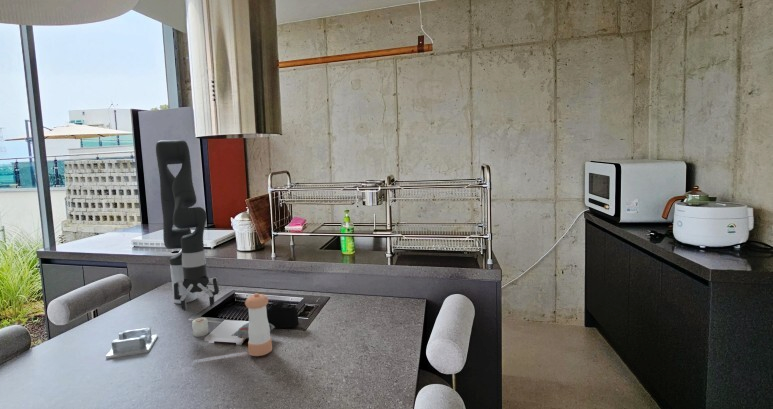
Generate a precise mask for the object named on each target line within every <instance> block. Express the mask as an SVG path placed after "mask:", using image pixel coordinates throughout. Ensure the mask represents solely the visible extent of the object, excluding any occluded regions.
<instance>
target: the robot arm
mask: <svg viewBox="0 0 773 409" xmlns="http://www.w3.org/2000/svg"><path fill="white" fill-rule="evenodd" d="M155 155H156V160H157V168H158V174H159V184H160V186H159V187H160V203H161V211H162V222H163V226H162V228H163V230H162V231H163V235H162V236H163V245H164V247H165V248H166V249H168V250H173V249H181V251H180V252H178V253H177V254H174V255H173V256H171V257H170V258H169V267H170V276H171V277H170V278H171V286H172V287H171V289H172V296H173V298H172V299H173V303H174V304H179V305H181V309H182V310H183V311H184V312H185V311H187V309H188V306H187V305H188V304H187V303H191V302H194V301H195V300H197V299H198V298H197V296H198V295H197V293H202V292H204V294H206V295H208V296H209V298H208V300H209V307H210V308H212V307H213V306H214V305H215V302H216V301H215V296H216V295H218V294H219V292H220V289H219V288H220V287H219V282H218V277H217V276H214V277H210V278H209V277H208V269H207V258H206V254H205V248H204V247H205V245H204V233H205V226H206V221H207V219H208V218H207V216H208V215H207V211H206V210H205V209H204V207H201V206H196V207H195V206H194V205H196V203H197V196H196V193H195V191H196V190H195V188H194V183H193V172H192V162H191V154H190V149H189V145H188V143H187V141H185V140H183V139H163V140H158V141H157V142H156V144H155ZM179 164H180V165H181V168H180V170H179V171H178V172H177V175H176V176H174V174H173V173H172V172H171V170H170V168H169V167H168V165H179ZM174 226H175V227H174ZM191 228H195V229H194V231H193V232H192V231H191ZM209 283H210V284H211V285H212V286H213V290H212V289H211V288H210V287H209V286H208V284H209Z"/></svg>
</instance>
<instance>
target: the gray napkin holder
mask: <svg viewBox="0 0 773 409" xmlns="http://www.w3.org/2000/svg"><path fill="white" fill-rule="evenodd" d="M158 338H159V337H158V334H152V328H151V327H150V326H149V327H144V328H136V329H130V330H122V331H120V332H119V333H118V338H117V339H113V340H112V341H111V349H110V351H108V352H107V354H106V355H105V359H106V360H109V359H116V358H121V357H128V356H134V355H140V354H147V353H150V351H151V349H152V347H153V346H154V344H155V342H156V340H157V339H158Z"/></svg>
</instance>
